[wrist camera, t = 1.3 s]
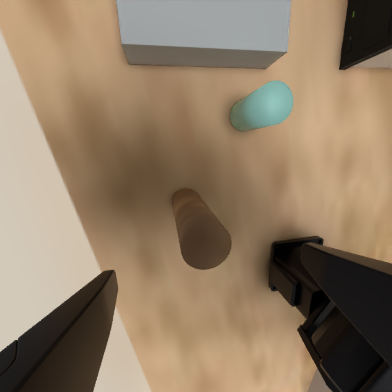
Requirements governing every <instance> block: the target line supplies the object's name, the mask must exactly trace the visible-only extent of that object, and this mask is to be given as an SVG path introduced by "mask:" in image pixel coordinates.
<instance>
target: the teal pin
mask: <svg viewBox="0 0 392 392" xmlns="http://www.w3.org/2000/svg"><path fill="white" fill-rule="evenodd" d="M292 107H293V95H292V92H291V90H290V88H289V87H288V86H287V85H286V84H285V83H283V82H281V81H271V82H268V83H267V84H265V85H263V86H262V87H260V88H259V89H257V90H256V91H254V92H252V93H251V94H249V95H248V96H246V97H244V98H243V99H241V100H240V101H238V102H237V103H236V104H235V105H234V106H233V107H232V109H231V113H230V120H231V123H232V125H233V126H234V127H235V128H236V129H237V130H239V131H249V130H253V129H258V128H262V127H267V126H271V125H276V124H279V123H281V122H283V121H284V120H285V119H286V118H287V117H288V116H289V114H290V112H291V110H292Z"/></svg>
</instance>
